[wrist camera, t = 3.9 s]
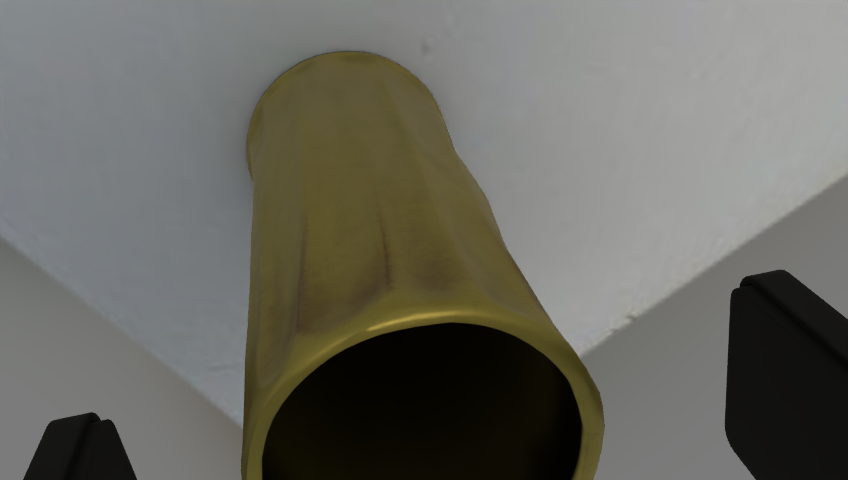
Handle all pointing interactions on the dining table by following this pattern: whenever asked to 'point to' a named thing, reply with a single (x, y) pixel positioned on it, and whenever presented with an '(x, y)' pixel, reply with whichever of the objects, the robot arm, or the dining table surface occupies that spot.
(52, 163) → the dining table surface
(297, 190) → the vase
